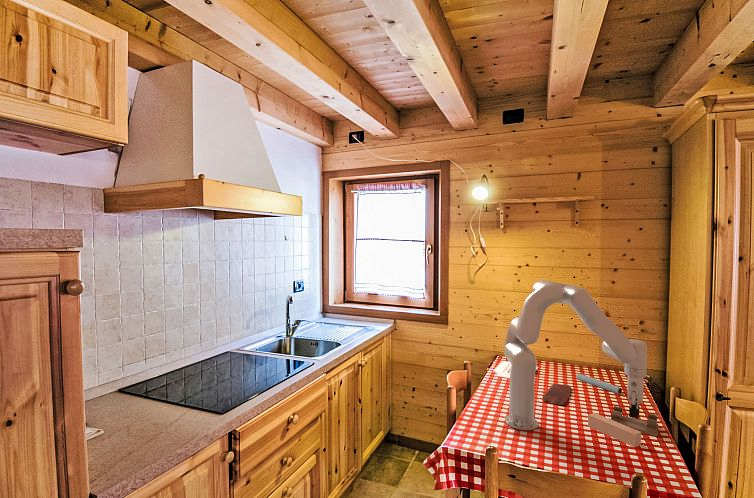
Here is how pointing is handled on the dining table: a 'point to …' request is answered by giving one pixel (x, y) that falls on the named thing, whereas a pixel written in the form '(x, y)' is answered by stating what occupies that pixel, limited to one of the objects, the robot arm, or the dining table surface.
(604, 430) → the clay strip
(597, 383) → the grey tube
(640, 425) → the rack
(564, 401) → the wooden tablet
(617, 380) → the dining table surface
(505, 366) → the tray
